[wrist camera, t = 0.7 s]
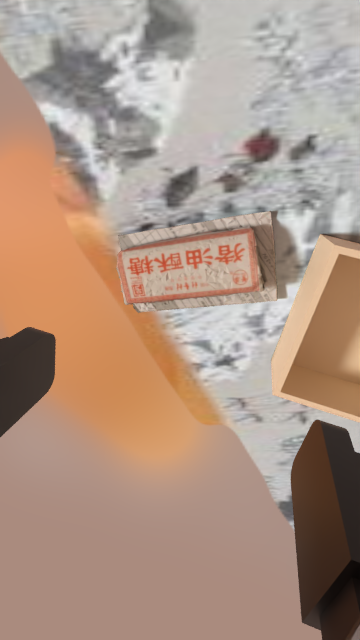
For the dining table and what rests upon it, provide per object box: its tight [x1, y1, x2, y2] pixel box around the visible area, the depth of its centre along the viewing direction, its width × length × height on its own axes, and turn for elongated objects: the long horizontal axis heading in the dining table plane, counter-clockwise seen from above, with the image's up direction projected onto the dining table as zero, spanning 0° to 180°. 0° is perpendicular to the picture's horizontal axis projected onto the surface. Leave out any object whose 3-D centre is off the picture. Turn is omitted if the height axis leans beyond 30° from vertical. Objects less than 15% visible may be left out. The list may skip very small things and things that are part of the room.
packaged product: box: [117, 211, 277, 313], centre depth 36 cm, size 18×5×10 cm
